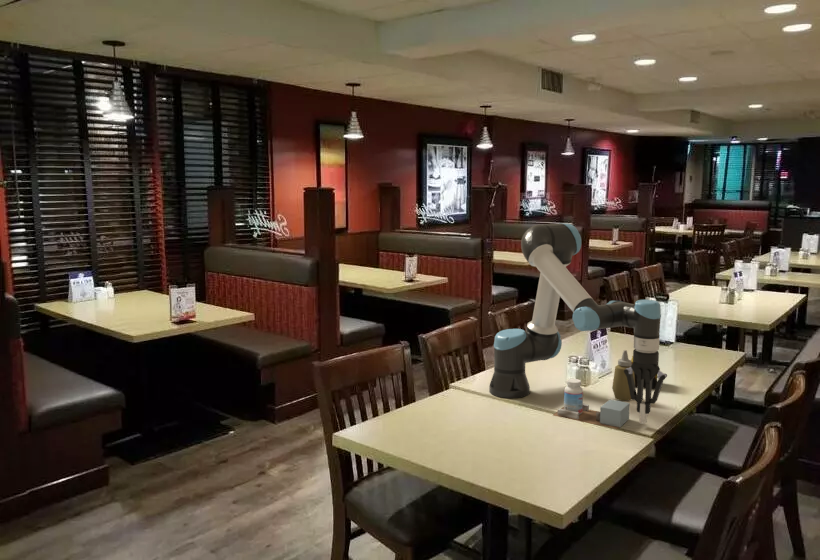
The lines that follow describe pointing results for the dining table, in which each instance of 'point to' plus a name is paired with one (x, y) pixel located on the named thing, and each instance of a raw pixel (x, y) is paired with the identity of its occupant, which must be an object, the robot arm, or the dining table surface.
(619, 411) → the cover
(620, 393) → the squeeze bottle
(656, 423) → the dining table surface
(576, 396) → the pill bottle
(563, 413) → the board
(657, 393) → the robot arm
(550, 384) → the dining table surface
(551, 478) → the dining table surface
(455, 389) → the dining table surface
